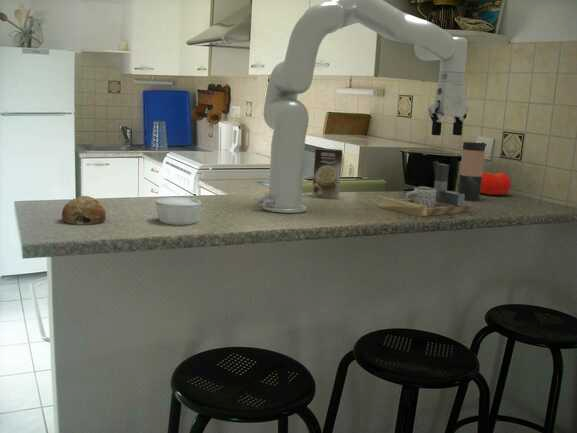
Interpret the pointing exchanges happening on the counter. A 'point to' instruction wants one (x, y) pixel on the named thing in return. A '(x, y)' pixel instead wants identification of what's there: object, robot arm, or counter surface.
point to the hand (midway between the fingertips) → (446, 135)
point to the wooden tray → (420, 207)
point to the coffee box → (327, 173)
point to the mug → (423, 196)
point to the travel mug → (471, 170)
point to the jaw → (445, 187)
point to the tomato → (495, 184)
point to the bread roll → (84, 211)
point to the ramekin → (178, 210)
